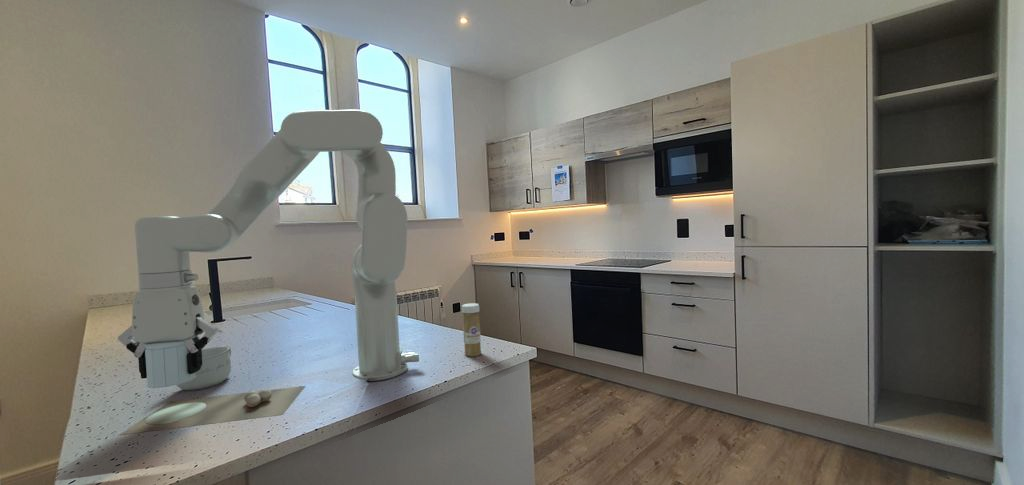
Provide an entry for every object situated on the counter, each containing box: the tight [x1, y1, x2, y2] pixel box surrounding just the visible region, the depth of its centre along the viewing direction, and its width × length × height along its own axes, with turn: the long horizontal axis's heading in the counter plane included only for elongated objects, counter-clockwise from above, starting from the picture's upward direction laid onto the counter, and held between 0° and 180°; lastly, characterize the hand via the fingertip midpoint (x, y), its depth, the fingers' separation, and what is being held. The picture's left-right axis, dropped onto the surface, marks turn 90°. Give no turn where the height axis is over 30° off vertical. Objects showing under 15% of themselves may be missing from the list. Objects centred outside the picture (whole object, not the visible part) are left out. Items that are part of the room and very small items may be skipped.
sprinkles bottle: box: [461, 302, 482, 357], centre depth 107 cm, size 5×5×13 cm
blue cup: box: [145, 339, 196, 389], centre depth 77 cm, size 7×7×8 cm
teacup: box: [176, 344, 232, 391], centre depth 95 cm, size 14×11×8 cm
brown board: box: [119, 385, 306, 436], centre depth 79 cm, size 26×14×3 cm, turn 101°
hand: (171, 373), depth 77 cm, fingers closed on blue cup, 7 cm apart
